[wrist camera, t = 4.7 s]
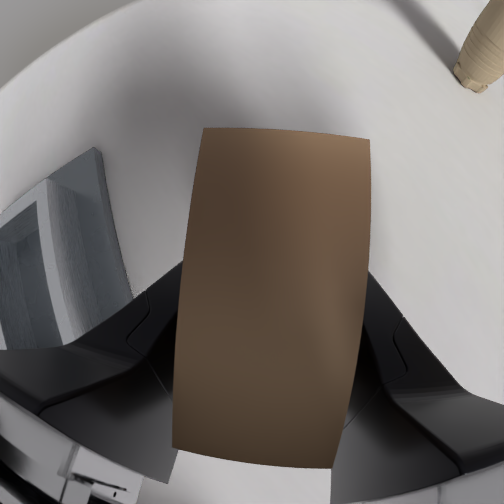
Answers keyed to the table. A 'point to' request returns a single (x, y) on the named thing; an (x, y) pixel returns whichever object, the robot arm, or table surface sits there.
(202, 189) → the tan tall block
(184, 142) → the table surface
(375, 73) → the table surface
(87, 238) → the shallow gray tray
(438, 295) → the table surface
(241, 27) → the table surface
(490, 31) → the handle
